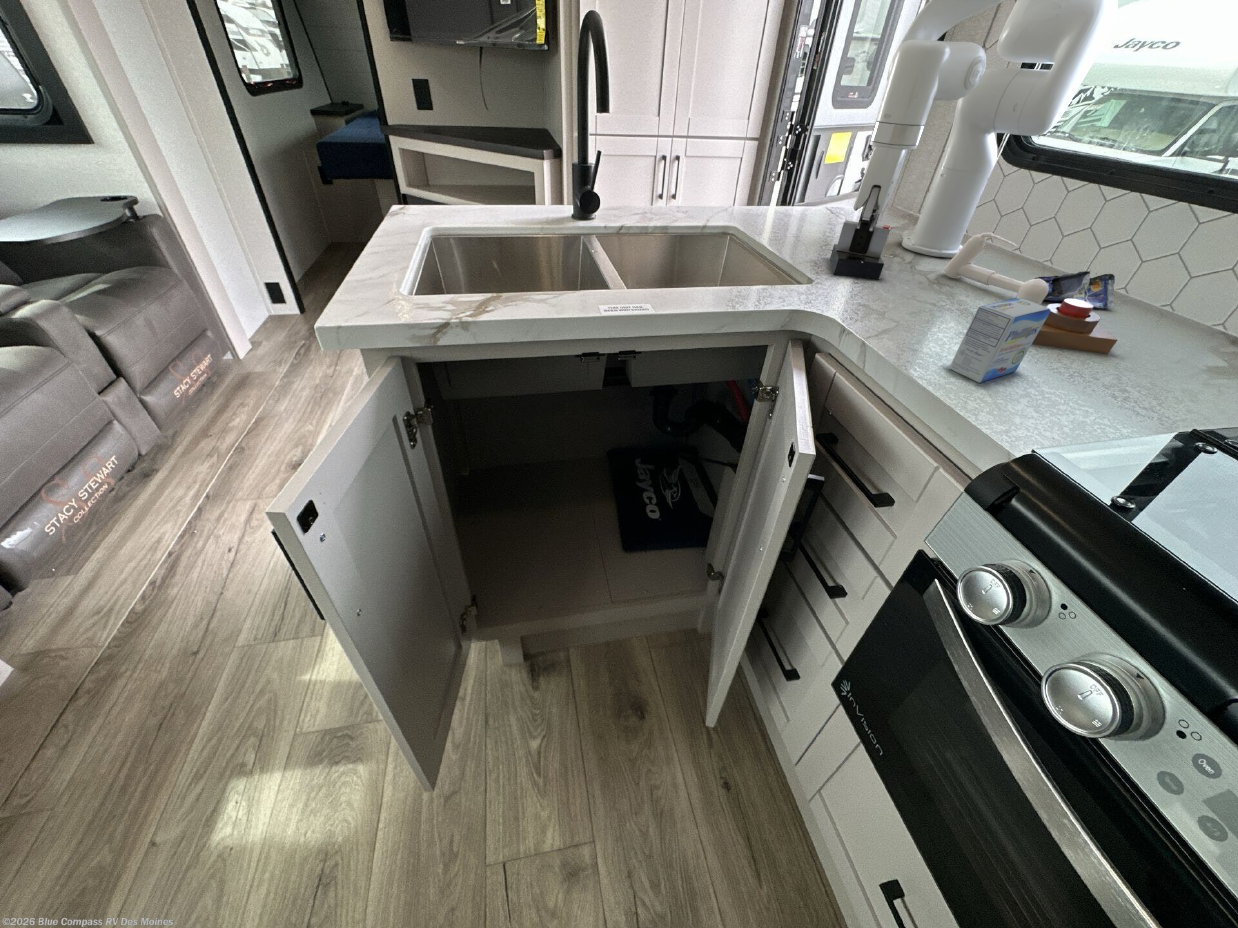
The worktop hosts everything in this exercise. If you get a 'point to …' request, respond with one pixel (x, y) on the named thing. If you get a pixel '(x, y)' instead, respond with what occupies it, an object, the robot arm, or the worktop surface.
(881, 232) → the grey rectangular slab
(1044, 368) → the worktop surface
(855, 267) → the lever base
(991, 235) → the faucet
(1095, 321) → the button block
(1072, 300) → the button
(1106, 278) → the snack package
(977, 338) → the medicine box
